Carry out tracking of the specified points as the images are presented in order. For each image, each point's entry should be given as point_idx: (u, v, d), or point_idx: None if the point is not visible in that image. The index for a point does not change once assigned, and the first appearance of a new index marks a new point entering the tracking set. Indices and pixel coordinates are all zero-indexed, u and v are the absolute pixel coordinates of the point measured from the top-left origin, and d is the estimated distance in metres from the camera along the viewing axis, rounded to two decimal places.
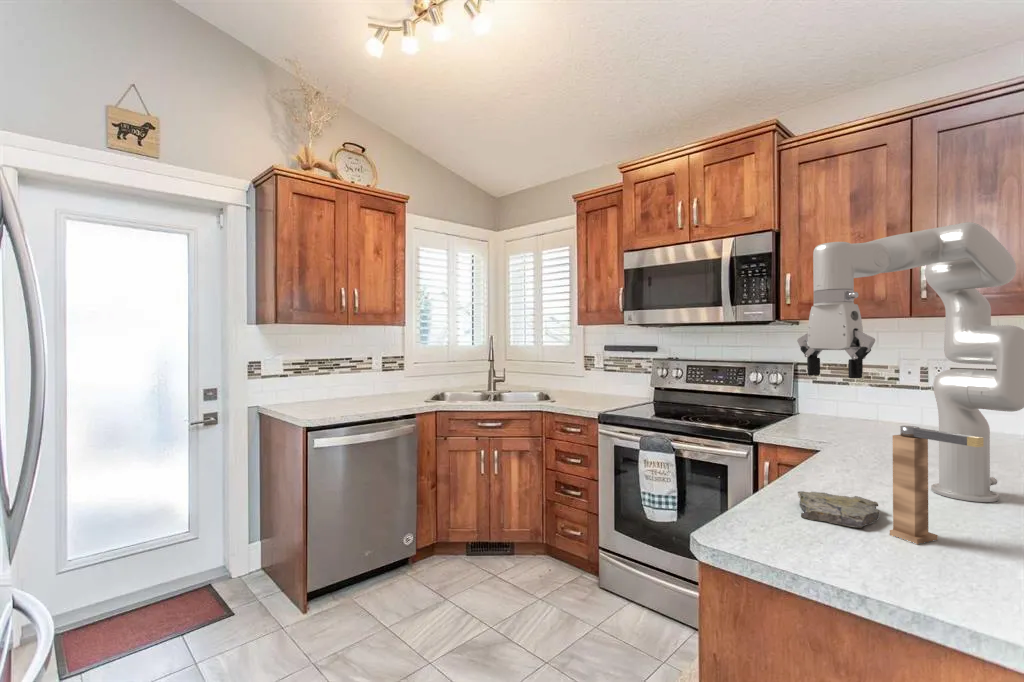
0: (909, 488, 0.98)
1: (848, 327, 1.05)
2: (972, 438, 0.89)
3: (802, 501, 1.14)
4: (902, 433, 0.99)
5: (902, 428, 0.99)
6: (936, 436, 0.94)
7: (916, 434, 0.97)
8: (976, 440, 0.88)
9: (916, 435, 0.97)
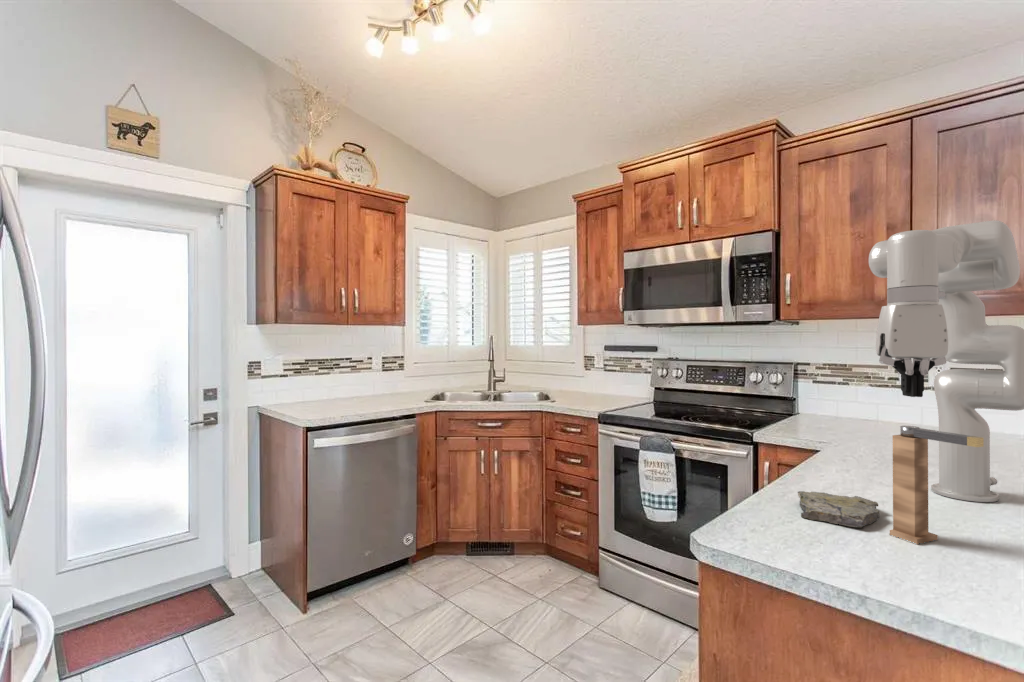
0: (909, 488, 0.98)
1: (947, 331, 0.91)
2: (972, 438, 0.89)
3: (802, 501, 1.14)
4: (902, 433, 0.99)
5: (902, 428, 0.99)
6: (936, 436, 0.94)
7: (916, 434, 0.97)
8: (976, 440, 0.88)
9: (916, 435, 0.97)
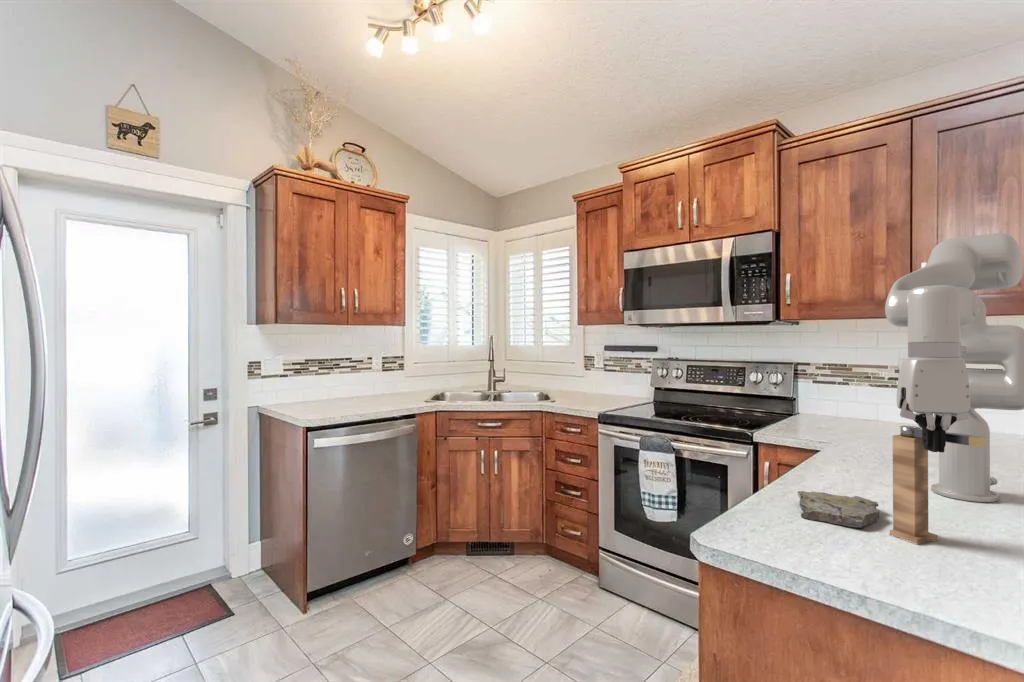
0: (909, 488, 0.98)
1: None
2: (974, 438, 0.89)
3: (802, 501, 1.14)
4: (902, 433, 0.99)
5: (902, 428, 0.99)
6: None
7: (916, 434, 0.97)
8: (977, 440, 0.89)
9: (916, 435, 0.97)
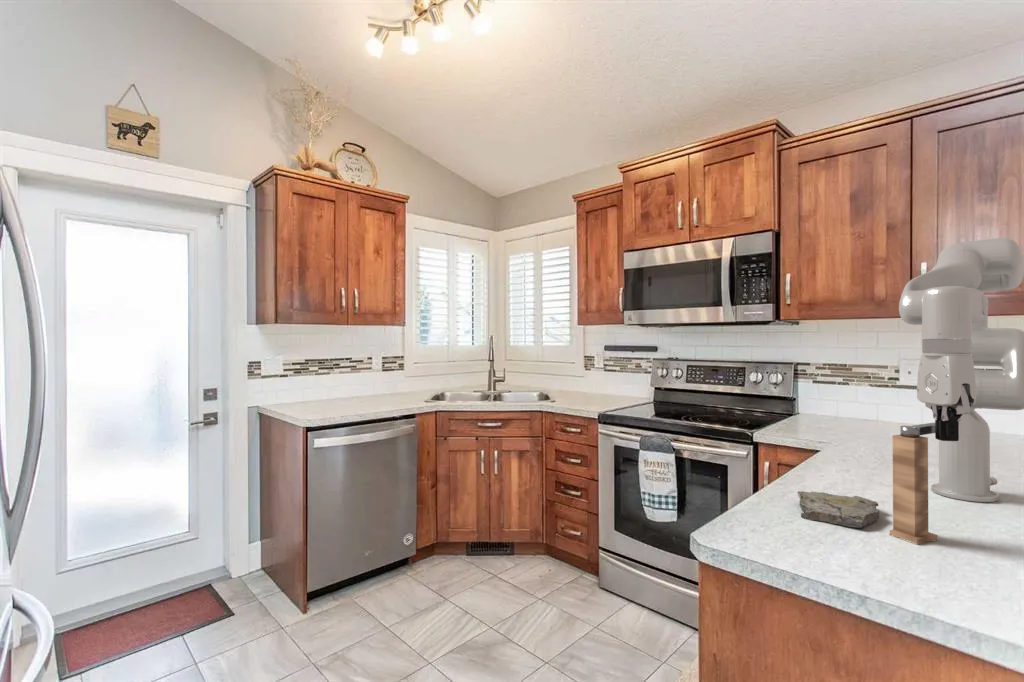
0: (909, 488, 0.98)
1: None
2: None
3: (802, 501, 1.14)
4: (916, 434, 0.98)
5: (916, 429, 0.98)
6: (929, 429, 1.01)
7: (919, 432, 0.99)
8: None
9: (919, 433, 0.99)
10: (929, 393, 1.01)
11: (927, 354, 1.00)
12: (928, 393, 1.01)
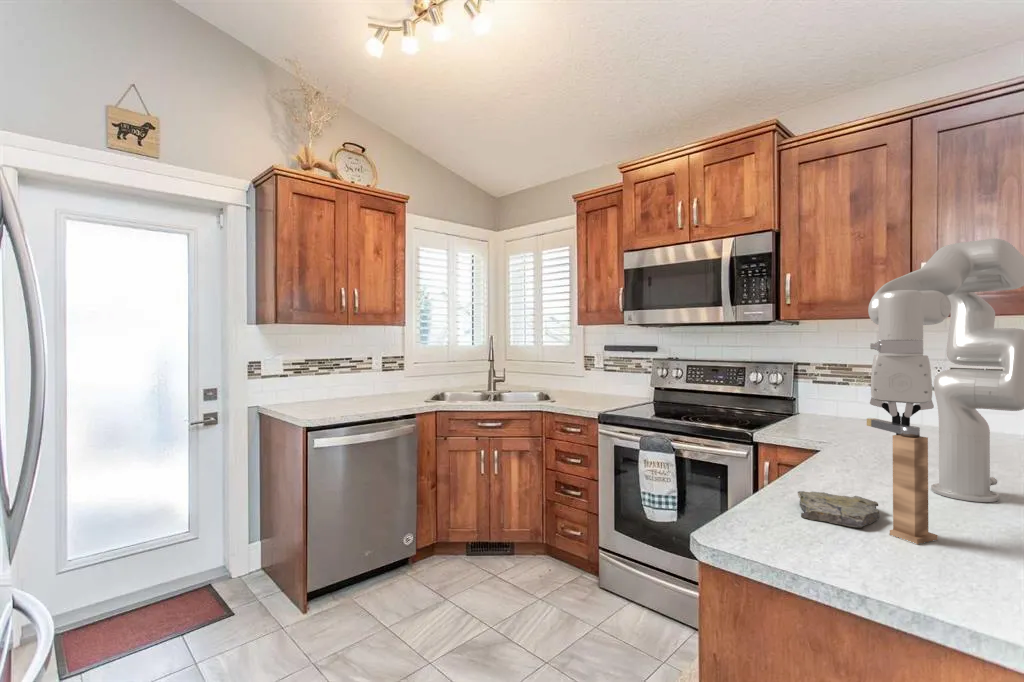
0: (909, 488, 0.98)
1: None
2: (876, 419, 1.10)
3: (802, 501, 1.14)
4: None
5: None
6: None
7: None
8: None
9: None
10: (896, 391, 1.04)
11: (902, 354, 1.03)
12: (895, 392, 1.04)
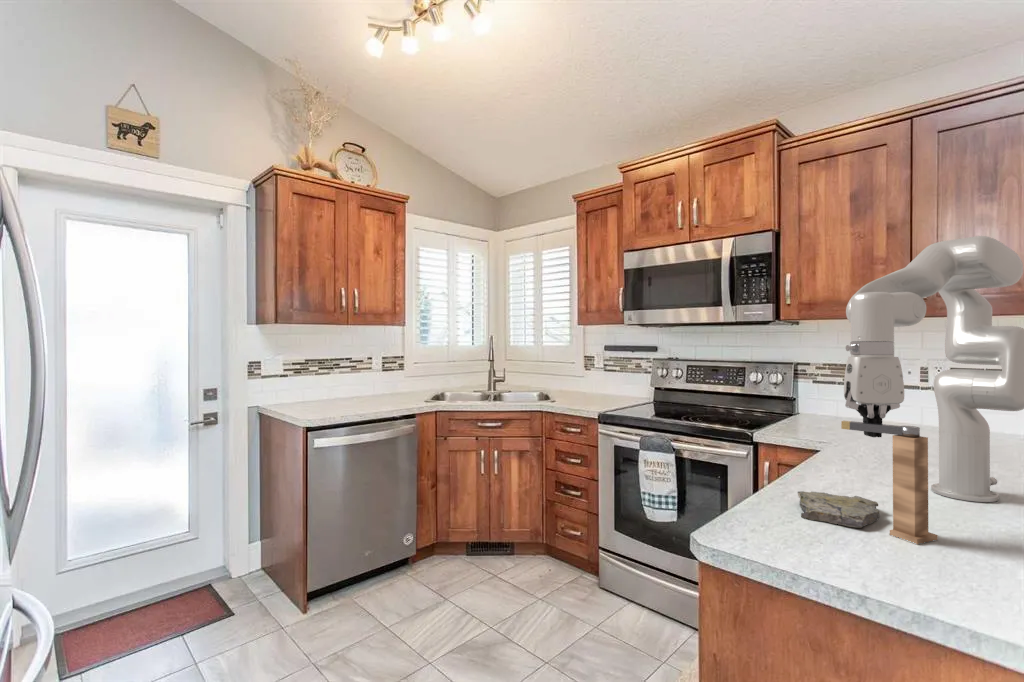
0: (909, 488, 0.98)
1: (844, 379, 1.08)
2: None
3: (802, 501, 1.14)
4: None
5: None
6: None
7: None
8: None
9: None
10: (879, 393, 1.04)
11: (887, 356, 1.03)
12: (878, 394, 1.04)
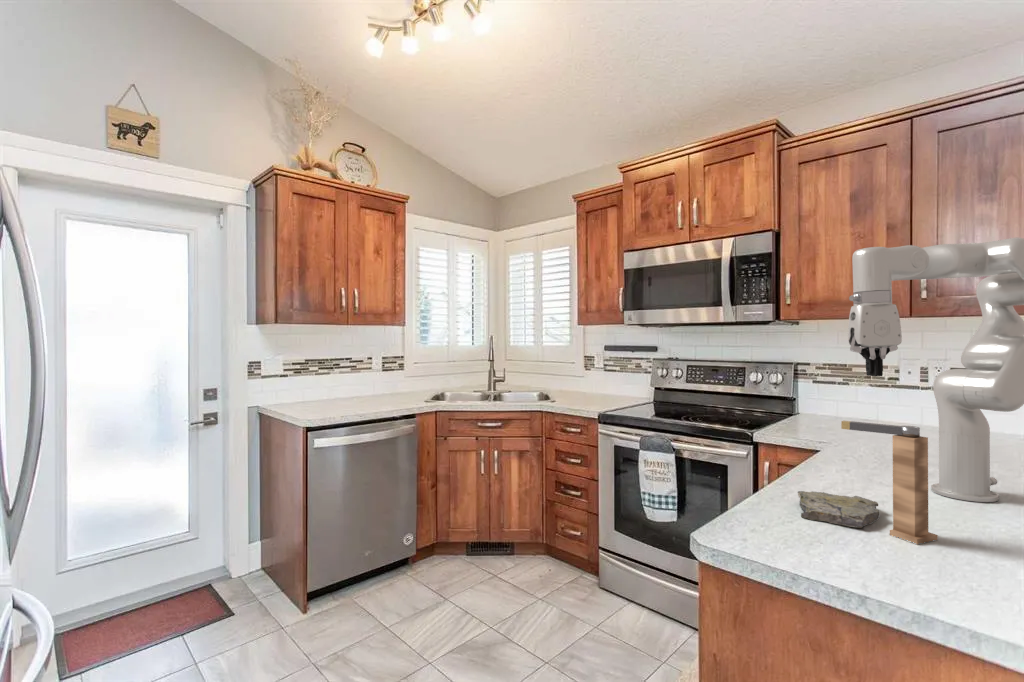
0: (909, 488, 0.98)
1: (848, 326, 1.22)
2: None
3: (802, 501, 1.14)
4: None
5: None
6: None
7: None
8: None
9: None
10: (879, 337, 1.17)
11: (886, 303, 1.16)
12: (879, 337, 1.17)
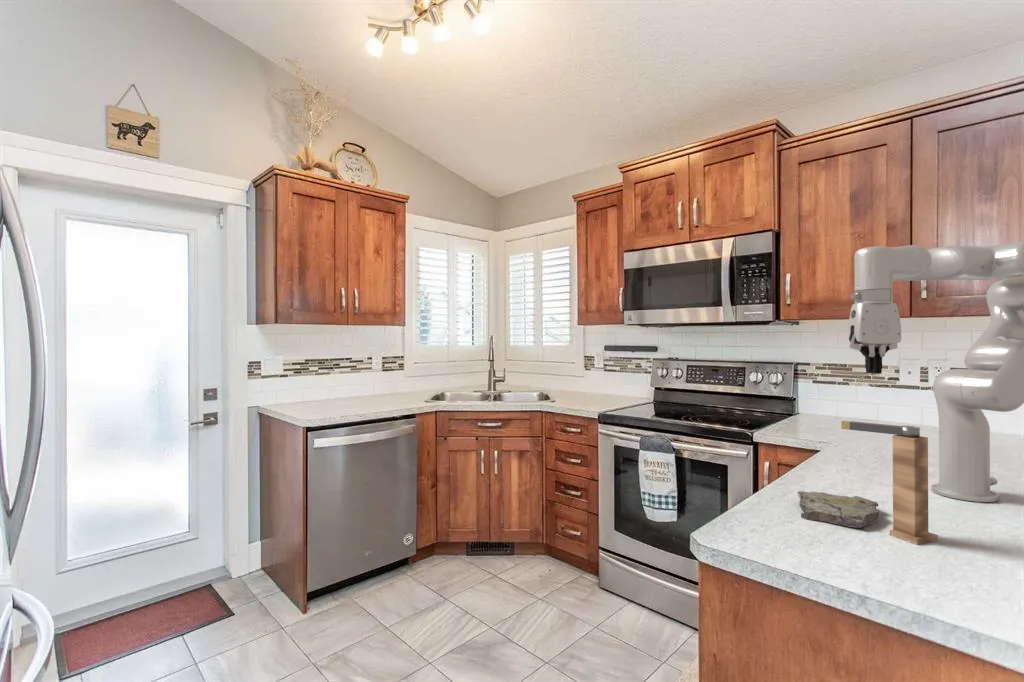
0: (909, 488, 0.98)
1: (849, 324, 1.24)
2: None
3: (802, 501, 1.14)
4: None
5: None
6: None
7: None
8: None
9: None
10: (879, 334, 1.19)
11: (886, 301, 1.18)
12: (878, 335, 1.19)
